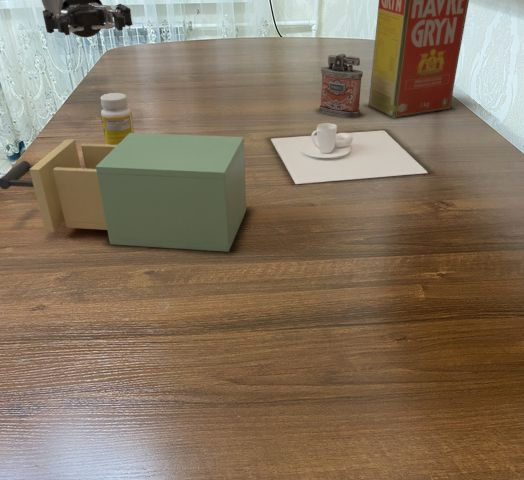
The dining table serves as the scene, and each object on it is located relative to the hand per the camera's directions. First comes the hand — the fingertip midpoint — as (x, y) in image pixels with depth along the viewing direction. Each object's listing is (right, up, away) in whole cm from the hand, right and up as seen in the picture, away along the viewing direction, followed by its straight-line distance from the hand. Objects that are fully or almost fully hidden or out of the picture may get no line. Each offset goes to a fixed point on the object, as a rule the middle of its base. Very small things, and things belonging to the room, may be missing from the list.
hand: (93, 25), depth 98 cm
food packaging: (+55, -6, +18) cm, 58 cm away
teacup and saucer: (+40, -21, -1) cm, 45 cm away
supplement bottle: (+4, -20, +2) cm, 20 cm away
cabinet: (+17, -37, -21) cm, 45 cm away
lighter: (+42, -8, +16) cm, 45 cm away
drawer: (+5, -35, -20) cm, 40 cm away
